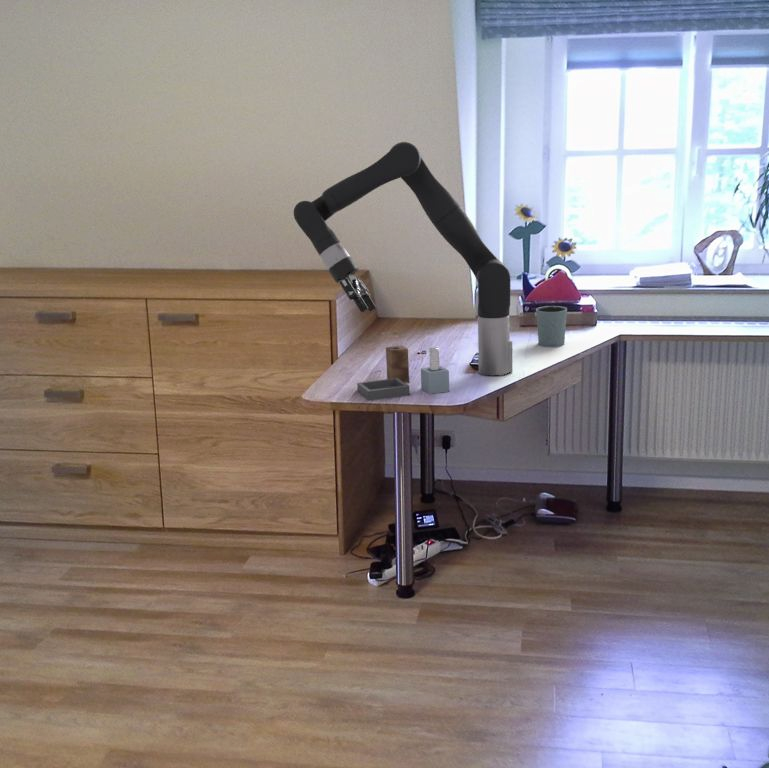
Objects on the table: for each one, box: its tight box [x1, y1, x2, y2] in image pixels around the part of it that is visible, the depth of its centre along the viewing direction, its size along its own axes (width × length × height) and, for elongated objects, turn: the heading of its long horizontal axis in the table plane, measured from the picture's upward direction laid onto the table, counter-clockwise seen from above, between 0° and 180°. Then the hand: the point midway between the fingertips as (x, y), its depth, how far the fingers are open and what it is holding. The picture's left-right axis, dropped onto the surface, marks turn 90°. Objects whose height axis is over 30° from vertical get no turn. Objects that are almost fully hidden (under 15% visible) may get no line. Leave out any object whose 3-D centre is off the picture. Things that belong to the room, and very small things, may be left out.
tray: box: [356, 378, 411, 401], centre depth 258 cm, size 12×10×2 cm
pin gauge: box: [429, 346, 440, 372], centre depth 257 cm, size 3×3×12 cm
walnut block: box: [385, 345, 410, 383], centre depth 268 cm, size 5×5×10 cm
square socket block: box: [420, 365, 450, 395], centre depth 258 cm, size 6×6×6 cm
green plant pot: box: [535, 305, 568, 348], centre depth 306 cm, size 10×10×12 cm
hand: (369, 310), depth 263 cm, fingers open, 8 cm apart
